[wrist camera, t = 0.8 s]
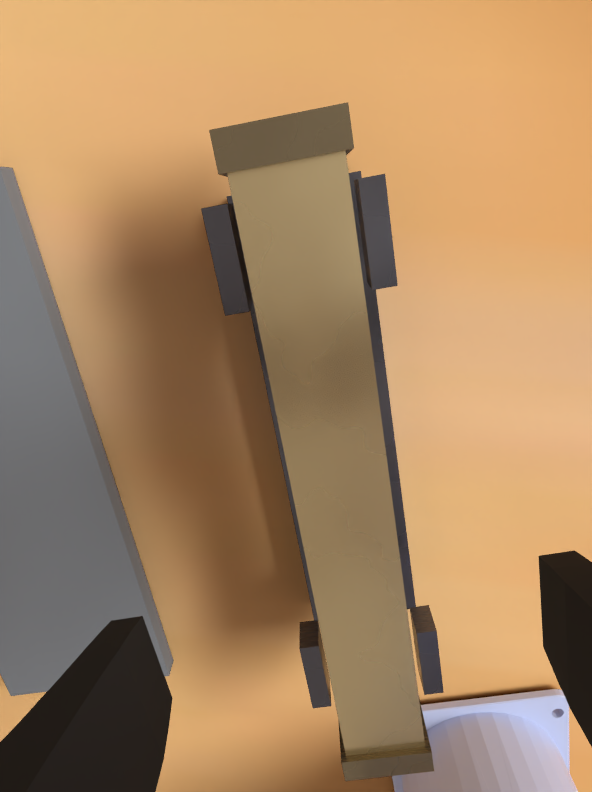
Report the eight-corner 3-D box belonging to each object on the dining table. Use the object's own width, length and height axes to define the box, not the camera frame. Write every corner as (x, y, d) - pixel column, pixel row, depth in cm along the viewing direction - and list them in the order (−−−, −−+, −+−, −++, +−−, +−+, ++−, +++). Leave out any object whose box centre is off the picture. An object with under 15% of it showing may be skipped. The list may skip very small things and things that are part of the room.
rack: (413, 590, 22) (443, 698, 17) (311, 603, 23) (314, 713, 18) (360, 171, 17) (383, 162, 12) (227, 197, 17) (198, 197, 12)
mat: (173, 660, 24) (169, 675, 23) (19, 680, 24) (10, 696, 23) (12, 167, 17) (-2, 166, 16) (-196, 209, 17) (-219, 209, 17)
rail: (416, 694, 19) (434, 771, 16) (339, 703, 19) (345, 781, 17) (339, 120, 13) (348, 102, 10) (227, 143, 13) (209, 129, 11)
